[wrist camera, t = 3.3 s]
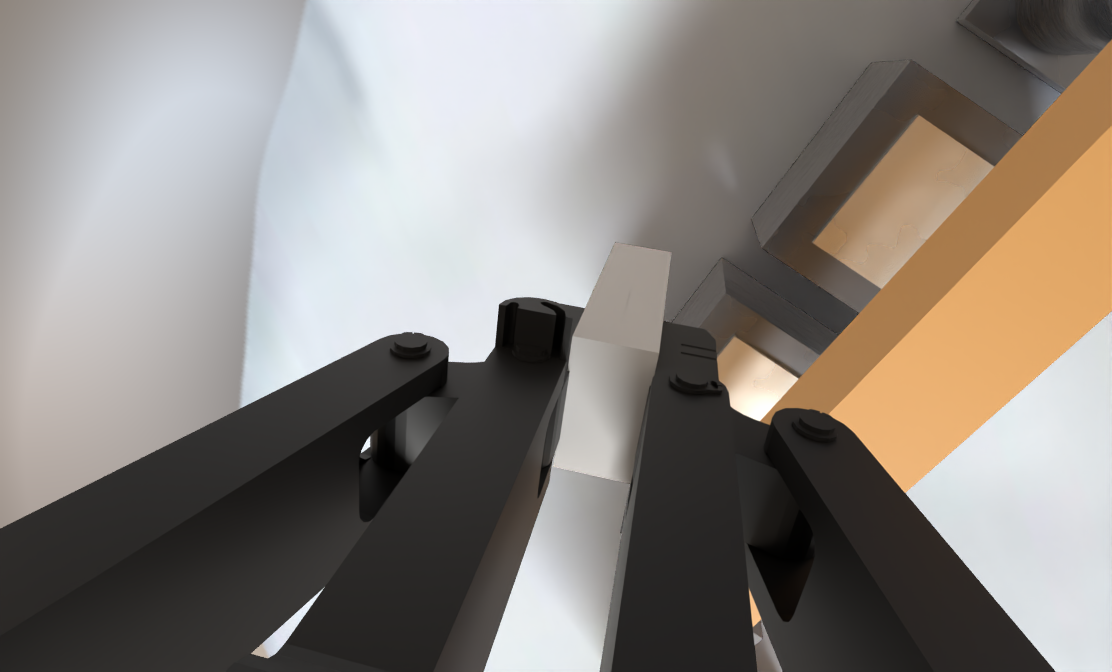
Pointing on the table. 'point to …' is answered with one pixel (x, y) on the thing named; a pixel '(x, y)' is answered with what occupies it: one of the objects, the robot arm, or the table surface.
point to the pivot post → (1044, 33)
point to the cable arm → (980, 296)
